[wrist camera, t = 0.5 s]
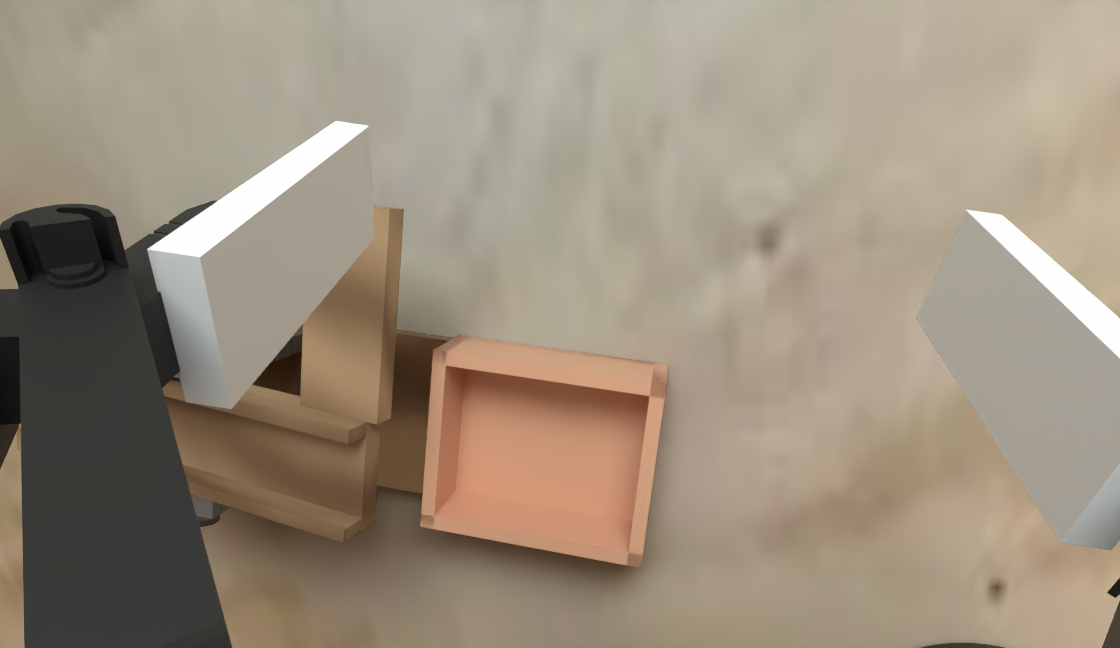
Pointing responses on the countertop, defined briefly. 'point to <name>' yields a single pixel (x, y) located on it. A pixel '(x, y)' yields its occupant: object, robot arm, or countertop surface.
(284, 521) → the lever
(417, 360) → the lever stand
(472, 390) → the dish
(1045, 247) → the countertop surface
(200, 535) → the robot arm
